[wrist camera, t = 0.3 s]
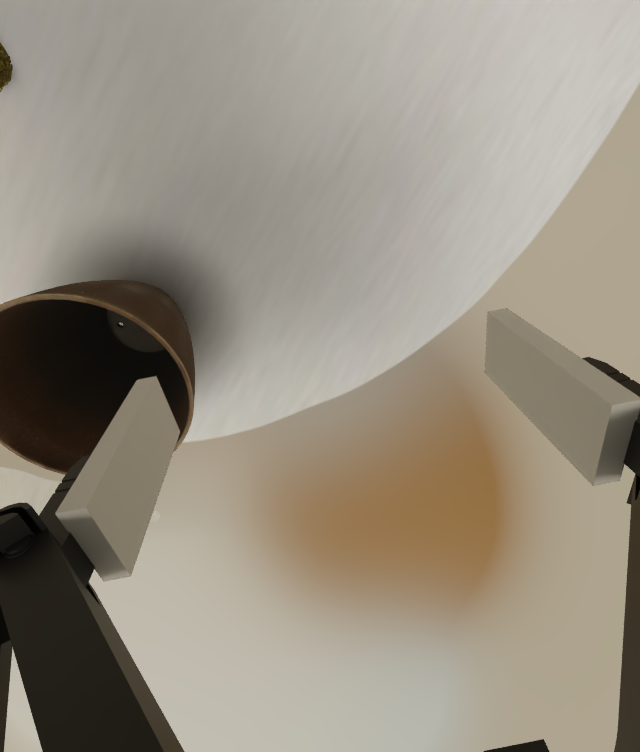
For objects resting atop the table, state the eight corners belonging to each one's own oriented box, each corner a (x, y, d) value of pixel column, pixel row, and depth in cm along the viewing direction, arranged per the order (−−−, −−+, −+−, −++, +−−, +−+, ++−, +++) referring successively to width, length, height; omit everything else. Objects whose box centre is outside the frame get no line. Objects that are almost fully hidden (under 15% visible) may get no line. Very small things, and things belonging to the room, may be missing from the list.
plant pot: (148, 211, 37) (70, 244, 23) (248, 333, 44) (235, 416, 30) (35, 300, 40) (-95, 378, 26) (145, 402, 47) (90, 507, 33)
